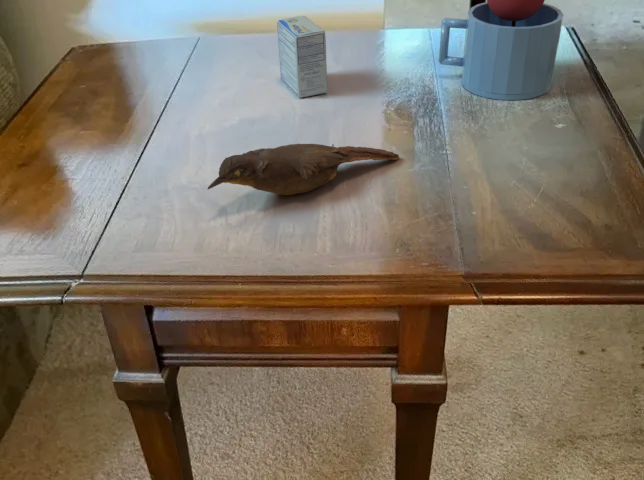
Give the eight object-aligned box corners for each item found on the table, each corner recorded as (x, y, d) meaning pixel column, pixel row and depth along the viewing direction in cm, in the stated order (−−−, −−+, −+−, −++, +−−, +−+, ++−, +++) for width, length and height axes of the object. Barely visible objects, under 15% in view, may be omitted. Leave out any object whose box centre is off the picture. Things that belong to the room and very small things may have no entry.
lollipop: (549, 78, 104) (562, -43, 98) (500, 83, 102) (511, -40, 95) (516, 71, 111) (526, -44, 104) (470, 75, 109) (477, -41, 102)
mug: (556, 71, 110) (568, 3, 104) (544, 104, 101) (556, 31, 95) (447, 61, 114) (452, -5, 109) (427, 92, 106) (431, 21, 100)
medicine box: (328, 93, 107) (326, 30, 101) (298, 99, 105) (295, 35, 100) (308, 75, 112) (306, 14, 107) (279, 80, 111) (276, 19, 106)
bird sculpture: (408, 184, 90) (415, 144, 87) (220, 218, 78) (221, 172, 75) (375, 165, 95) (380, 126, 92) (191, 195, 82) (191, 150, 80)
